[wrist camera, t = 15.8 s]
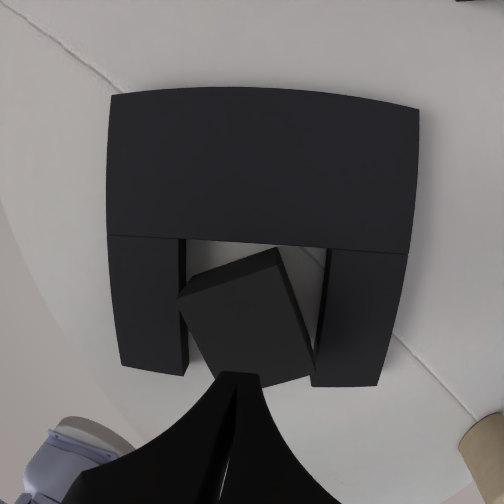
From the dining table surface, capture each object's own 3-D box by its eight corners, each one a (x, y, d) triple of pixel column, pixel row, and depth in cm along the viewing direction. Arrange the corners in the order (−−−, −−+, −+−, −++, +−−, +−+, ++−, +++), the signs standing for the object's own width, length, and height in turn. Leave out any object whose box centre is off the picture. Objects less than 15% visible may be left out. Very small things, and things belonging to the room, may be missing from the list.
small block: (310, 339, 18) (317, 373, 14) (232, 362, 19) (224, 397, 15) (277, 246, 17) (277, 264, 13) (192, 275, 17) (174, 299, 14)
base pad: (371, 373, 18) (377, 386, 17) (130, 353, 19) (121, 365, 18) (408, 113, 14) (419, 109, 13) (123, 100, 15) (111, 95, 14)
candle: (511, 410, 19) (556, 472, 9) (483, 449, 20) (517, 511, 11) (478, 414, 19) (525, 488, 9) (448, 455, 20) (481, 528, 11)
